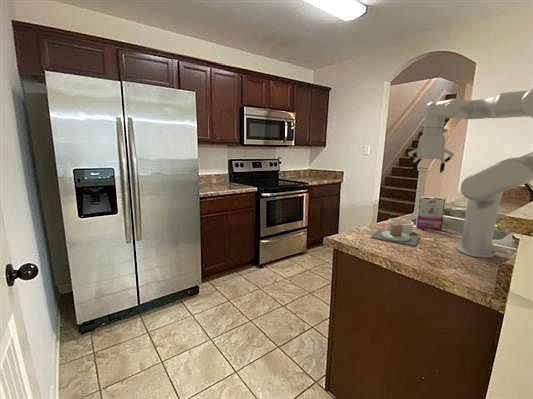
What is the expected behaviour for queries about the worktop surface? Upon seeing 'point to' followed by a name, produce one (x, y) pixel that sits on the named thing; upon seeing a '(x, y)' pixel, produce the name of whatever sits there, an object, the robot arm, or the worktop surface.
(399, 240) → the lid
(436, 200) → the candy bar box
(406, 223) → the bowl
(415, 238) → the mat
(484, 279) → the worktop surface
